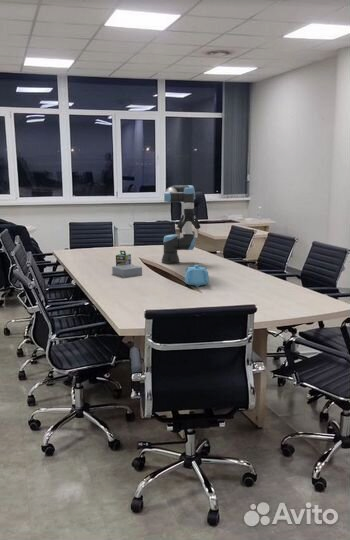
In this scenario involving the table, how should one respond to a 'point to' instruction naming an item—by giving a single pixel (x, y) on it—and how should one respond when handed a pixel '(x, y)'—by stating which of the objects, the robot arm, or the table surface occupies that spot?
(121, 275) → the grey base brick
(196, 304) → the table surface
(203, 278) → the decorative pot
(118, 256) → the chalk box
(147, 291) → the table surface
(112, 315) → the table surface
